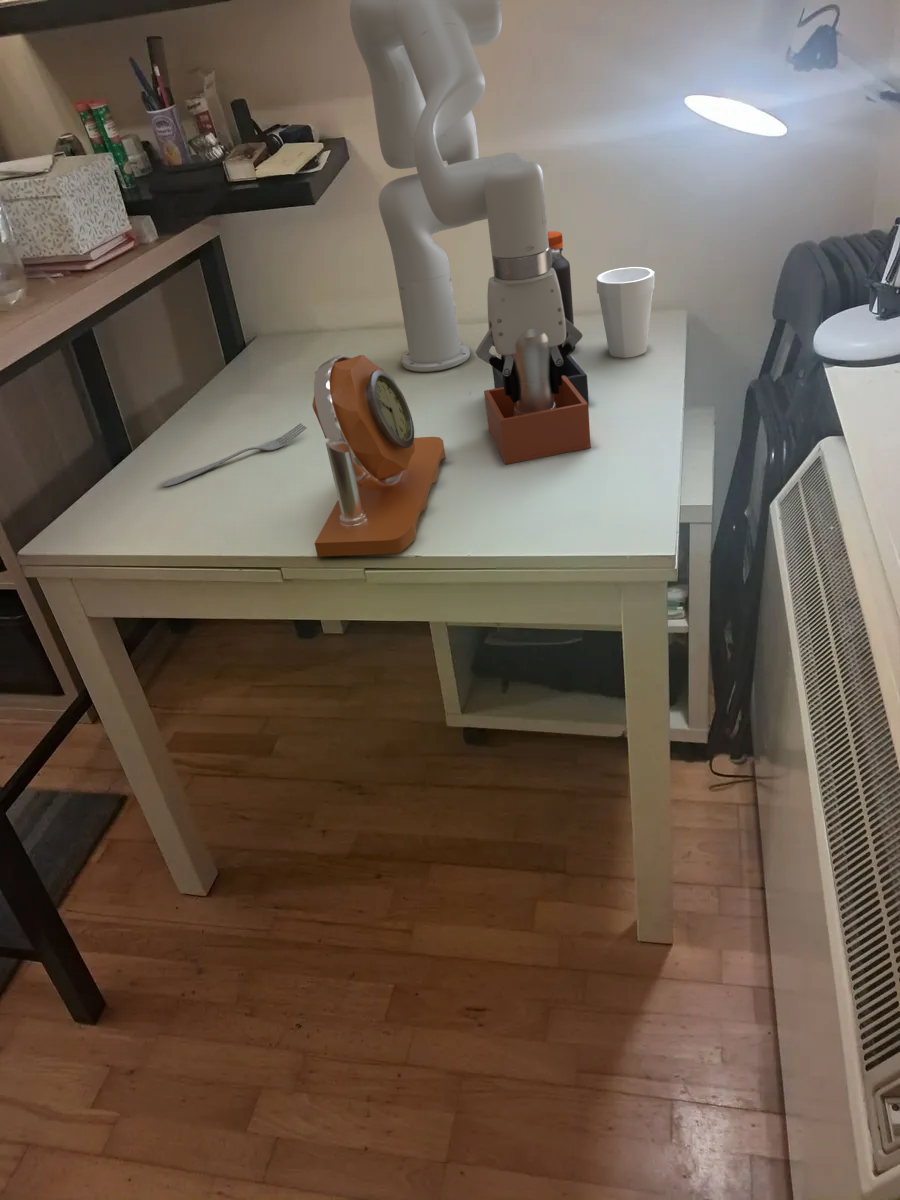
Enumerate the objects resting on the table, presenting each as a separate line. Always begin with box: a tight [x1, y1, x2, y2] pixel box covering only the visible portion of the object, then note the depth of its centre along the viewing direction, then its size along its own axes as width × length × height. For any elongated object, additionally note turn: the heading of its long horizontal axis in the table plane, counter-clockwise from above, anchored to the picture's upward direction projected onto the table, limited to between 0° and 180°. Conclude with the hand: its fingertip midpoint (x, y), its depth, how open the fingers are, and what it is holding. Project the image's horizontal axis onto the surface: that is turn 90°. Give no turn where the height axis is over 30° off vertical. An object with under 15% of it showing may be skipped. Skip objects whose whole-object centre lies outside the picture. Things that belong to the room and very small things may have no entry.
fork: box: [162, 423, 308, 488], centre depth 146 cm, size 3×24×2 cm, turn 123°
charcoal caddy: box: [491, 353, 590, 407], centre depth 149 cm, size 12×12×5 cm
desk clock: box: [311, 354, 446, 557], centre depth 122 cm, size 12×30×20 cm, turn 171°
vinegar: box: [548, 230, 576, 354], centre depth 163 cm, size 7×7×20 cm
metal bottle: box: [512, 329, 556, 416], centre depth 132 cm, size 6×7×20 cm
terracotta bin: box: [483, 375, 592, 465], centre depth 136 cm, size 12×12×7 cm
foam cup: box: [595, 266, 656, 359], centre depth 159 cm, size 10×9×13 cm
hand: (533, 393), depth 134 cm, fingers closed on metal bottle, 5 cm apart
